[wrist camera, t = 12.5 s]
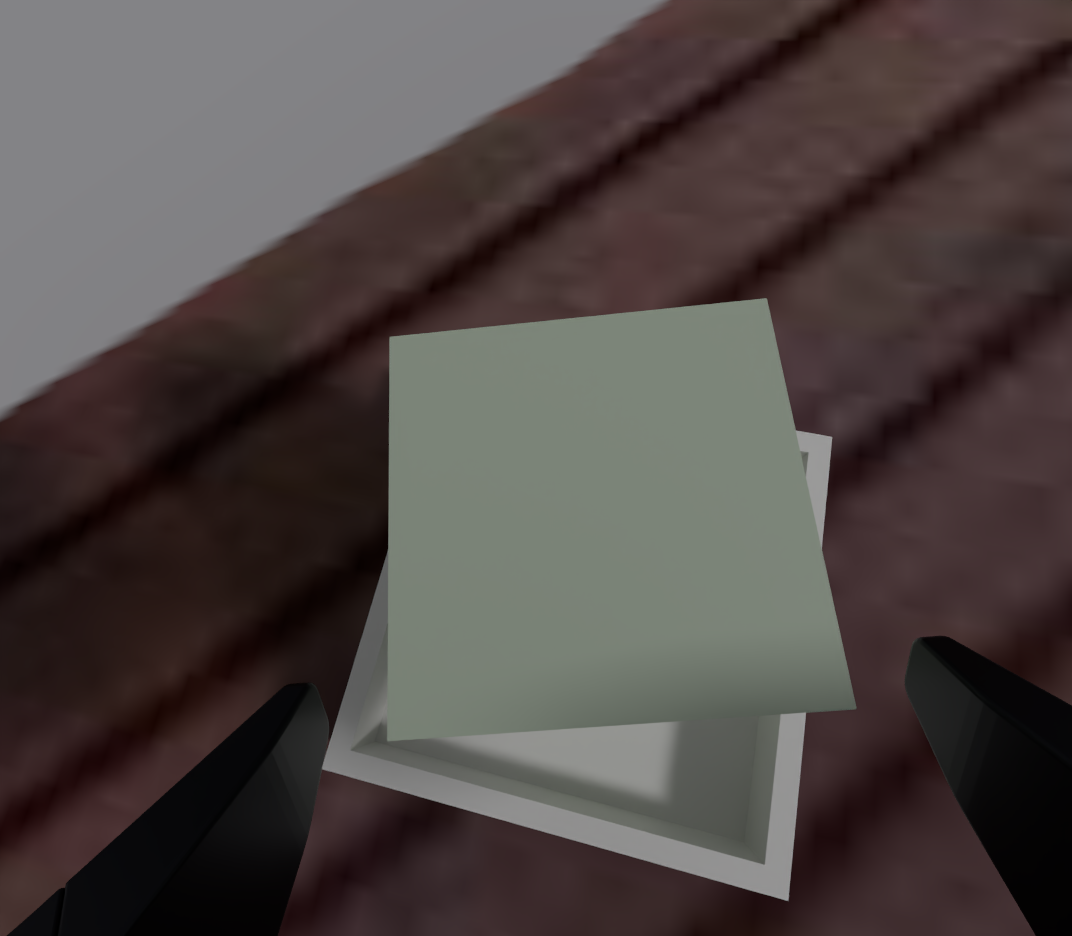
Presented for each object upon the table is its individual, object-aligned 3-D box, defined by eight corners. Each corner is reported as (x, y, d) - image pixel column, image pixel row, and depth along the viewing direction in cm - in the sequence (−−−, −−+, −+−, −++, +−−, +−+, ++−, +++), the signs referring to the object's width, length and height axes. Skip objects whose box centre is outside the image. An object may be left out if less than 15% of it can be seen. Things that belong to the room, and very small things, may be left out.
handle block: (682, 682, 18) (855, 708, 6) (511, 695, 18) (387, 740, 7) (660, 515, 19) (766, 298, 8) (502, 528, 20) (390, 337, 8)
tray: (757, 866, 17) (788, 900, 14) (356, 755, 18) (321, 768, 16) (801, 465, 20) (832, 437, 18) (459, 401, 22) (443, 367, 19)
